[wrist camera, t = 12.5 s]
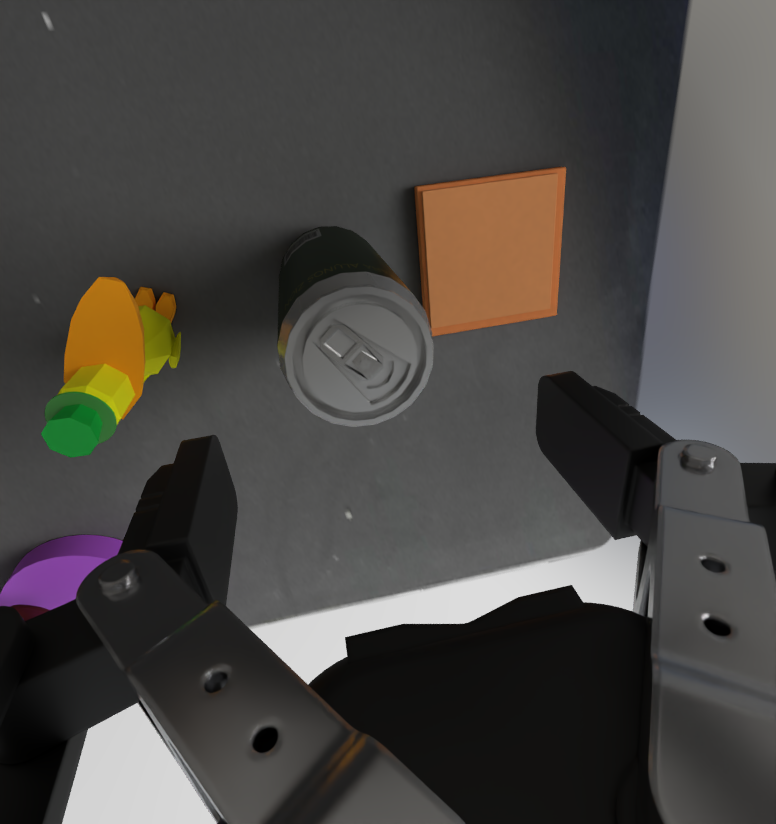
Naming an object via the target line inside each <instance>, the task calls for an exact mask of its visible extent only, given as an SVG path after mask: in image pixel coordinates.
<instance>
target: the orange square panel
mask: <svg viewBox="0 0 776 824" xmlns="http://www.w3.org/2000/svg"><path fill="white" fill-rule="evenodd" d="M565 178H566V167H555V168H548V169H540V170H533V171H525V172H518V173H510V174H503V175H495V176H488V177H480V178H473V179H465V180H458V181H450V182H443V183H435V184H428V185H420V186H415V187H414V191H415V205H416V218H417V232H418V246H419V260H420V274H421V288H422V302H423V308H424V310H425V311H426V315H427V318H428V321H429V324H430V327H431V331H432V336H437V335H443V334H449V333H455V332H461V331H467V330H473V329H479V328H484V327H490V326H496V325H502V324H508V323H514V322H520V321H526V320H532V319H538V318H544V317H550V316H555V315H557V301H558V286H559V270H560V255H561V239H562V224H563V208H564V193H565Z"/></svg>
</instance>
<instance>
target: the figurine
mask: <svg viewBox="0 0 776 824" xmlns="http://www.w3.org/2000/svg"><path fill="white" fill-rule="evenodd" d="M122 542H123V541H121V540H118V539H115V538H111V537H105V536H99V535H75V536H66V537H62V538H58V539H54V540H51V541H48V542H46V543H44V544H41V545H39V546H37V547H36V548H34V549H33V550H32V551H30V552H29V553H27V554H26V555H25V556H24V558H23V559H22V560H21V561H20V562H19V563H18V565H17V566H16V568H15V570H14V571H13V573H12V574H11V576H10V577H9V579H8V581H7V582H6V584H5V586H4V588H3V590H2V592H1V594H0V606H9V607H12V608H14V609H16V610H17V611H18V612H19V614H20V615H21V617H22V618H23V619H24V621H27V620H29V619H31V618H34V617H36V616H38V615H40V614H43V613H45V612H47V611H50V610H52V609H54V608H57V607H59V606H61V605H64V604H66V603H68V602H70V601H72V600H74V599H76V593H77V590H78V588H79V586H80V584H81V583H82V581H83V580H84V579H85V577H86V576H87V575H88V574H89V573H90V572H91V571H92V570H93V569H95V568H96V567H97V566H98V565H100V564H101V563H103V562H104V561H106V560H108V559H110V558H112V557H114V556H116V555H117V554H118V552H119V549H120V547H121V544H122Z"/></svg>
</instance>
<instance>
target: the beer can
mask: <svg viewBox="0 0 776 824" xmlns="http://www.w3.org/2000/svg"><path fill="white" fill-rule="evenodd" d="M277 346H278V353H279V361H280V369H281V371H282V372H283V374H284V376H285V378H286V380H287V382H288V384H289V386H290V388H291V390H292V391H293V392H294V393H295V395H296V397H297V399H298V400H299V401H300V402H301V403H302V404H303V405H304V406H305V407H306V408H308V409H309V410H310V411H311V412H312V413H313V414H315V415H317V416H319V417H321V418H323V419H325V420H327V421H329V422H331V423H334V424H340V425H346V426H352V427H356V426H365V425H375V424H377V423H380V422H383V421H385V420H388V419H390V418H393V417H395V416H397V415H398V414H399V413H400V412H402V411H403V410H404V409H406V408H407V407H408V406H410V405H411V404H412V403H413V402H414V401H415V399H416V398H417V397H418V395H419V394H420V393H421V391H422V390H423V389H424V387H425V386H426V383H427V381H428V378H429V375H430V372H431V369H432V367H433V341H432V331H431V327H430V324H429V321H428V318H427V315H426V311H425V310H424V308H423V307H422V306H421V304H420V303H419V302H418V300H417V299H416V298H415V296H414V295H413V294H412V292H411V291H410V290H409V289H408V288H407V286H406V285H405V284H404V283H403V282H402V281H401V280H400V278H399V277H398V276H397V275H396V274H395V273H394V272H393V271H392V269H391V268H390V267H389V266H388V265H387V264H386V263H385V261H384V260H383V259H382V258H381V257H380V256H379V255H378V253H377V252H376V251H375V250H374V249H373V248H372V247H371V245H370V244H369V243H368V242H367V241H366V240H365V239H363V238H362V237H360V236H359V235H357V234H356V233H355V232H353V231H351V230H347V229H344V228H340V227H337V226H331V227H318V228H316V229H313V230H311V231H308V232H306V233H303V234H302V235H301V236H300V237H299V238H298V239H297V240H295V241H294V242H293V243H292V244H291V245H290V247H289V249H288V250H287V252H286V254H285V255H284V257H283V259H282V264H281V269H280V274H279V303H278V342H277Z"/></svg>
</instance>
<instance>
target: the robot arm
mask: <svg viewBox="0 0 776 824" xmlns="http://www.w3.org/2000/svg"><path fill="white" fill-rule="evenodd" d="M536 436H537V441H538V444H539V447H540V449H541V451H542V452H543V454H544V455H545V456H546V457H547V459H548V460H549V461H550V462H551V463H552V465H553V466H554V467H555V468H556V470H557V471H558V472H559V473H560V474H561V476H562V477H563V478H564V479H565V480H566V482H567V483H568V484H569V485H570V486H571V488H572V489H573V490H574V491H575V492H576V494H577V495H578V496H579V497H580V498H581V500H582V501H583V502H584V503H585V504H586V506H587V507H588V508H589V509H590V510H591V512H592V513H593V514H594V515H595V516H596V518H597V519H598V520H599V521H600V522H601V524H602V525H603V526H604V527H605V528H606V530H607V531H608V532H609V533H610V534H611V536H612V537H613V538H614V539H615V540H617V539H621V538H626V537H630V536H634V535H637V536H638V537H639V538H640V539H641V542H640V547H639V552H638V562H637V573H636V583H635V594H634V604H633V612H632V611H629V610H626V609H622V608H619V607H614V606H610V605H604V604H596V603H583V602H582V600H581V599H580V597H579V596H578V594H577V592H576V591H575V589H574V588H573V586H572V585H570V586H566V587H561V588H557V589H553V590H548V591H544V592H539V593H535V594H531V595H526V596H522V597H518V598H516V599H514V600H512V601H510V602H508V603H506V604H504V605H502V606H500V607H499V608H497V609H495V610H493V611H491V612H489V613H487V614H485V615H483V616H481V617H479V618H477V619H475V620H474V621H471V622H469V623H465V624H401V625H397V626H393V627H388V628H384V629H379V630H375V631H371V632H367V633H362V634H358V635H354V636H349V637H345V640H346V648H347V656H348V657H346V658H344V659H343V660H340V661H338V662H337V663H335V664H333V665H332V666H330V667H329V668H328V669H326V670H324V671H323V672H322V673H321V674H320V675H318V676H317V677H316V678H315V679H314V680H312V682H310V684H309V685H307V684H306V683H305V682H304V681H303V680H302V679H301V678H300V677H299V676H298V675H297V674H296V673H295V672H294V671H293V670H292V669H291V668H290V667H289V666H288V665H287V664H286V663H285V662H283V661H282V660H281V659H280V658H279V657H278V656H277V655H276V654H275V653H274V652H273V651H272V650H271V649H270V648H269V647H268V646H267V645H266V644H265V643H263V641H262V640H261V639H259V638H258V637H257V636H256V635H255V634H254V633H253V632H252V631H251V630H250V629H249V628H248V627H247V626H246V625H245V624H244V623H243V622H242V621H241V620H240V619H239V618H238V617H237V616H236V615H235V614H233V613H232V612H231V611H230V610H229V609H228V608H227V607H226V600H227V592H228V584H229V576H230V568H231V560H232V552H233V544H234V537H235V529H236V521H237V512H238V507H237V497H236V492H235V488H234V485H233V482H232V479H231V475H230V472H229V469H228V466H227V463H226V460H225V457H224V454H223V451H222V448H221V445H220V442H219V440H218V438H217V436H215V435H211V436H206V437H200V438H195V439H189V440H184V441H182V442H181V444H180V447H179V449H178V452H177V455H176V458H175V461H174V464H168V465H163V466H161V467H160V468H159V469H158V470H157V471H156V472H155V473H154V474H153V475H152V476H151V477H150V478H149V480H148V481H147V483H146V485H145V487H144V490H143V492H142V495H141V499H140V500H139V502H138V505H137V507H136V512H135V513H134V515H133V517H132V520H131V522H130V525H129V527H128V530H127V532H126V535H125V537H124V539H123V542H122V544H121V547H120V549H119V552H118V554H117V555H116V556H114V557H112V558H110V559H108V560H106V561H104V562H103V563H101V564H100V565H98V566H97V567H96V568H95V569H93V570H92V571H91V572H90V573H89V574H88V575H87V576H86V577H85V579H84V580H83V581H82V583H81V584H80V586H79V588H78V590H77V593H76V599H74V600H72V601H70V602H68V603H66V604H64V605H61V606H59V607H57V608H54V609H52V610H50V611H47V612H45V613H43V614H40V615H38V616H36V617H34V618H31V619H29V620H27V621H24V619H23V618H22V617H21V615H20V614H19V612H18V611H17V610H16V609H14V608H12V607H9V606H0V824H62V821H63V817H64V813H65V810H66V806H67V803H68V799H69V796H70V792H71V788H72V785H73V781H74V778H75V774H76V770H77V767H78V763H79V759H80V756H81V751H82V748H83V745H84V741H85V738H86V734H87V730H88V728H91V727H92V726H94V725H96V724H98V723H100V722H102V721H104V720H106V719H107V718H109V717H111V716H113V715H115V714H117V713H119V712H121V711H122V710H124V709H126V708H128V707H130V706H132V705H134V704H136V703H138V704H139V706H140V707H141V709H142V710H143V712H144V713H145V715H146V716H147V718H148V719H149V721H150V722H151V724H152V725H153V727H154V728H155V730H156V731H157V733H158V734H159V736H160V737H161V739H162V740H163V742H164V743H165V745H166V746H167V748H168V749H169V751H170V752H171V754H172V755H173V757H174V758H175V760H176V761H177V763H178V764H179V766H180V767H181V769H182V770H183V772H184V773H185V775H186V777H187V778H188V780H189V781H190V783H191V784H192V786H193V787H194V789H195V791H196V792H197V794H198V795H199V797H200V798H201V800H202V801H203V803H204V805H205V806H206V808H207V809H208V811H209V812H210V814H211V815H212V817H213V818H214V820H215V821H216V823H217V824H776V463H740V462H739V461H738V459H737V458H736V457H735V456H734V455H733V454H731V453H730V452H729V451H727V450H725V449H724V448H721V447H719V446H716V445H714V444H711V443H707V442H703V441H696V440H675V439H674V438H673V437H672V436H670V435H669V434H668V433H666V432H665V431H664V430H662V429H661V428H660V427H658V426H657V425H656V424H654V423H653V422H652V421H650V420H649V419H648V418H647V417H645V416H644V415H640V412H639V411H637V410H636V409H635V408H633V407H632V406H629V404H628V403H627V402H626V401H624V400H623V399H622V398H620V397H619V396H618V395H616V394H615V393H612V392H610V391H607V390H605V389H602V388H599V387H597V386H591V385H590V384H589V383H587V382H586V381H585V380H584V379H582V378H581V377H580V376H579V375H577V374H576V373H575V372H573V371H568V372H563V373H557V374H552V375H546V376H542V377H541V378H540V380H539V384H538V399H537V419H536Z"/></svg>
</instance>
